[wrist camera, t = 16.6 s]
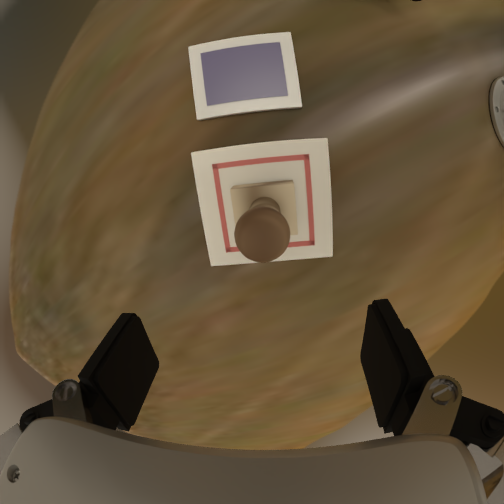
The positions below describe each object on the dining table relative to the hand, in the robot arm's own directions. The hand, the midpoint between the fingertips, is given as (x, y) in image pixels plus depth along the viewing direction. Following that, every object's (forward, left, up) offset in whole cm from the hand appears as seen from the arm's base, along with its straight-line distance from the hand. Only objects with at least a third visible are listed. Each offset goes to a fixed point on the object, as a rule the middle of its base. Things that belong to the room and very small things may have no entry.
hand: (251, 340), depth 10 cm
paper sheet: (0, 0, -22) cm, 22 cm away
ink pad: (+1, -15, -22) cm, 27 cm away
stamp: (0, 0, -22) cm, 22 cm away
